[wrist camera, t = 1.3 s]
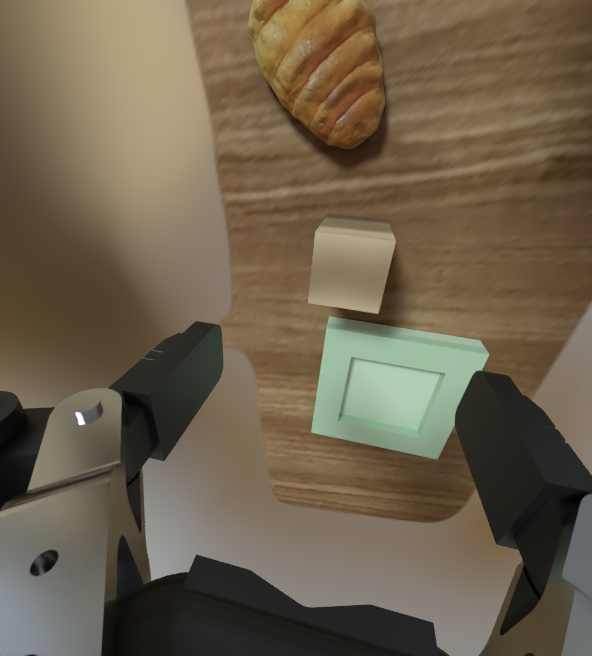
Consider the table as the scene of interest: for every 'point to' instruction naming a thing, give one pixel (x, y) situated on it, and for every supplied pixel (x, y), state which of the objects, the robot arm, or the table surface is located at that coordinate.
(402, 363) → the plate
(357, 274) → the wooden block
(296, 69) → the pastry
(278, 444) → the table surface
